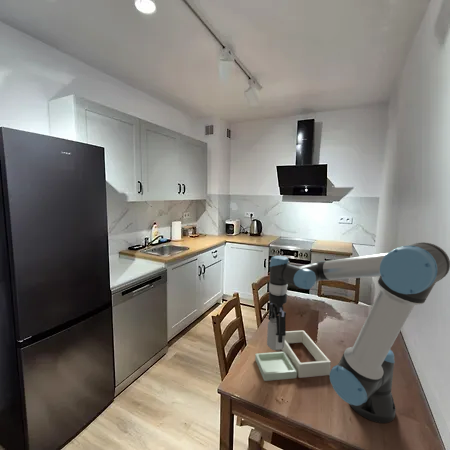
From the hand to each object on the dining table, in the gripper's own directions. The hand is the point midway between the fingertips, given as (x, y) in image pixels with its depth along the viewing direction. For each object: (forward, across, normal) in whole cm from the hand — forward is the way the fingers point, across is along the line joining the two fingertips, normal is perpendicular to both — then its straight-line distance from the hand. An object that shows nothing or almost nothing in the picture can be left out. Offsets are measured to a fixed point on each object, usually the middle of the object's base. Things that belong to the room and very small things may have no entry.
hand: (275, 342), depth 113 cm
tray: (+12, 0, 0) cm, 12 cm away
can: (+2, 0, 0) cm, 2 cm away
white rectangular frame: (+12, +6, -15) cm, 20 cm away
